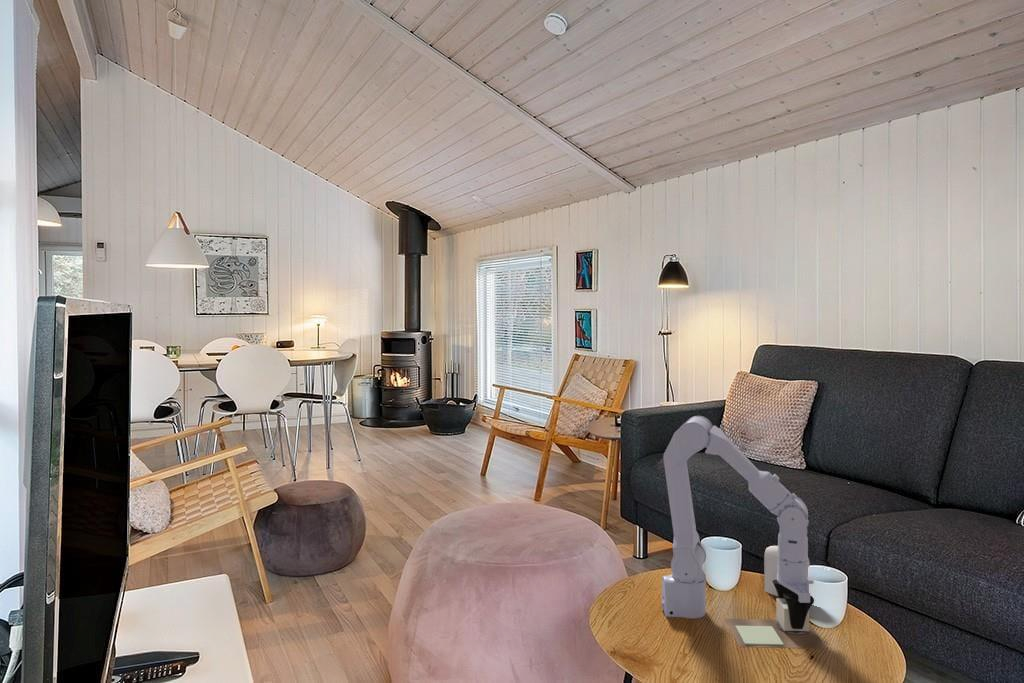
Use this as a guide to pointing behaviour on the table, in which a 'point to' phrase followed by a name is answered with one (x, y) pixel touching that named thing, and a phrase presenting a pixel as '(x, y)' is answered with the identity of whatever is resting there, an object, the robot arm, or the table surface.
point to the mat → (759, 635)
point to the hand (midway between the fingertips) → (792, 621)
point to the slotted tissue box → (787, 616)
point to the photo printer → (771, 569)
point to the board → (788, 639)
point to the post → (791, 631)
